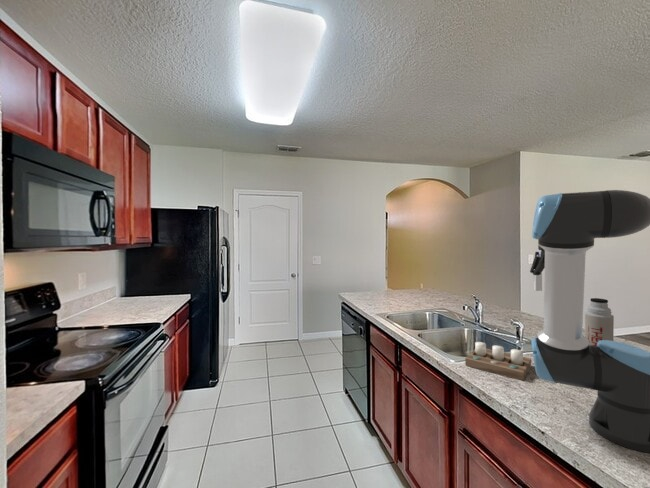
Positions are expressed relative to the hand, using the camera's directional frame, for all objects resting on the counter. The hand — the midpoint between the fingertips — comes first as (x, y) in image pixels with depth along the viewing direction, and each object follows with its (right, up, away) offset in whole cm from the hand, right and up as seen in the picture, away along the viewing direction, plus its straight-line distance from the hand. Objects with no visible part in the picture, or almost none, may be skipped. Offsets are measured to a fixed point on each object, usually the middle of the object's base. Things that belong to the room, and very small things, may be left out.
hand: (549, 293), depth 122 cm
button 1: (-15, -27, -3) cm, 31 cm away
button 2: (-20, -27, +2) cm, 33 cm away
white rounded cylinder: (-25, -27, +6) cm, 37 cm away
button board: (-20, -29, +2) cm, 35 cm away
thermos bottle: (+13, -29, -7) cm, 32 cm away
